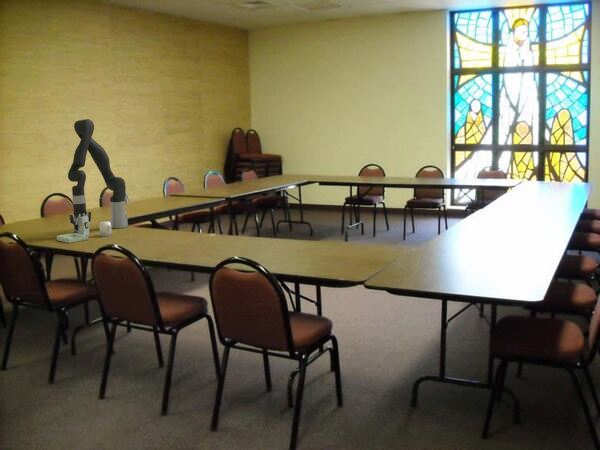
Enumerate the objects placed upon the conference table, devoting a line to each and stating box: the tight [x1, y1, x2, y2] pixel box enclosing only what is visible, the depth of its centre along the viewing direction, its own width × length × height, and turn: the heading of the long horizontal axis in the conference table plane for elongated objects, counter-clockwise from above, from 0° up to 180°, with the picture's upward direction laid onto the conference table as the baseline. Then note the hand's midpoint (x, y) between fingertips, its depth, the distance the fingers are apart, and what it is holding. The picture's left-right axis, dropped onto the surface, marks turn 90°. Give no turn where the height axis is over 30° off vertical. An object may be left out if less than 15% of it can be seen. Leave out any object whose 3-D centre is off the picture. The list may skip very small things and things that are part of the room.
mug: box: [98, 221, 113, 237], centre depth 398 cm, size 7×9×8 cm
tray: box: [56, 232, 89, 244], centre depth 386 cm, size 12×16×3 cm
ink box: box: [73, 215, 91, 236], centre depth 401 cm, size 9×5×12 cm, turn 62°
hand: (81, 229), depth 402 cm, fingers closed on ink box, 5 cm apart
